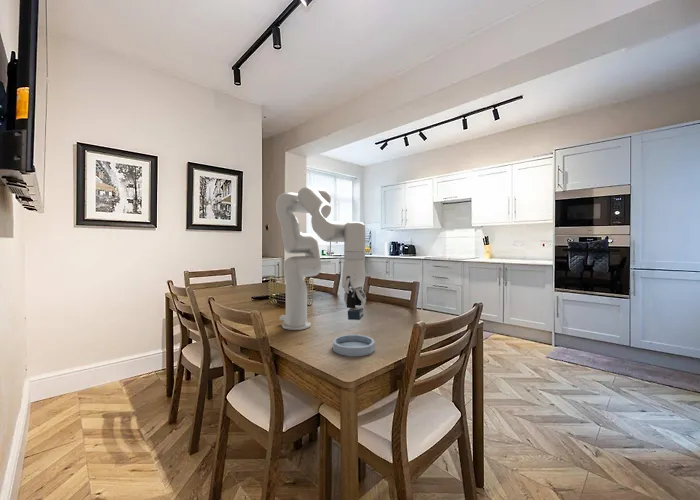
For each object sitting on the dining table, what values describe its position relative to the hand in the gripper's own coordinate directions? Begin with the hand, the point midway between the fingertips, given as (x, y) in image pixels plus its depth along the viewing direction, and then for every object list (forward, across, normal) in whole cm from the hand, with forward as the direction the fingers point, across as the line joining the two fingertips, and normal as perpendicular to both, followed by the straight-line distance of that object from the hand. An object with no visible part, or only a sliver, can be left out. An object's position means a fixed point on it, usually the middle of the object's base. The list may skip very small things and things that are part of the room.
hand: (354, 306), depth 118 cm
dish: (+16, 0, 0) cm, 16 cm away
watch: (+4, 0, +1) cm, 4 cm away
